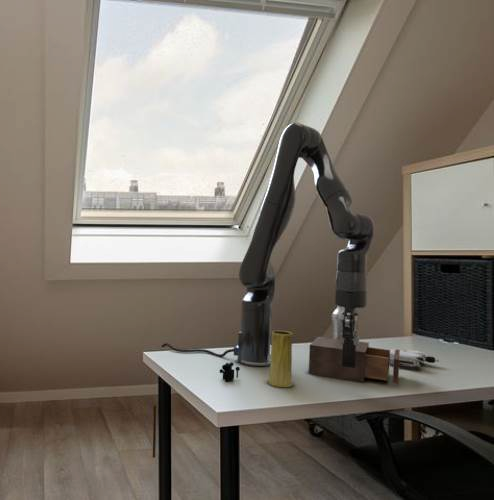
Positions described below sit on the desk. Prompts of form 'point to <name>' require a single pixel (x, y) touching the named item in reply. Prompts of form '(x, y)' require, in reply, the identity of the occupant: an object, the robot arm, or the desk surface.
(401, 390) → the desk surface
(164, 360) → the desk surface
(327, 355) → the cabinet
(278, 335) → the vase
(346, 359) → the tall brushed metal prism
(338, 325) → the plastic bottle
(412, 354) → the robot toy
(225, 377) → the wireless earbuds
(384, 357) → the drawer
